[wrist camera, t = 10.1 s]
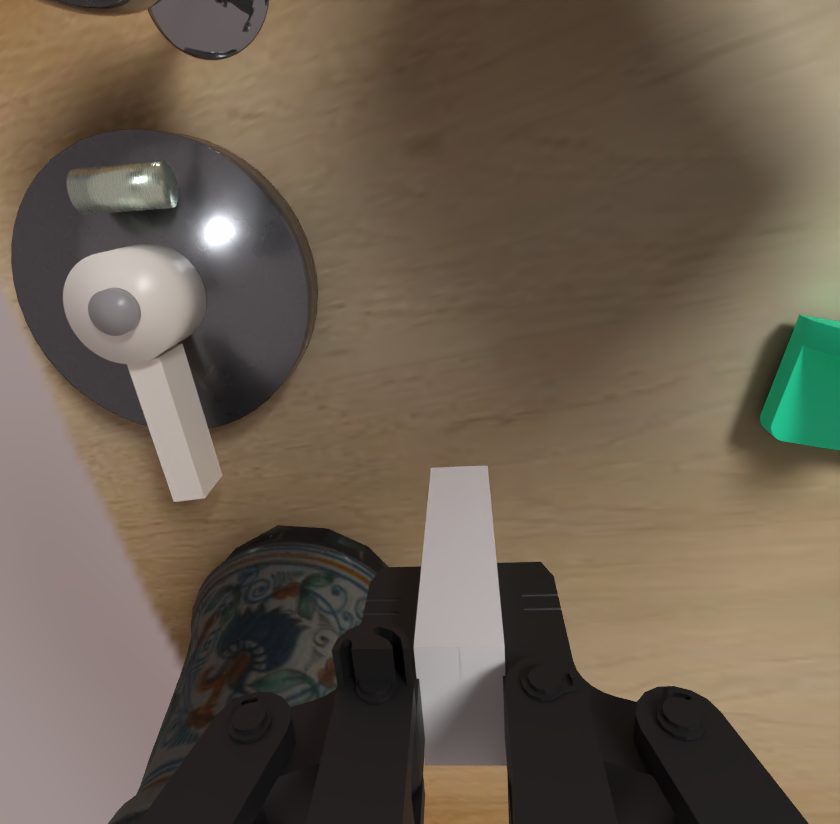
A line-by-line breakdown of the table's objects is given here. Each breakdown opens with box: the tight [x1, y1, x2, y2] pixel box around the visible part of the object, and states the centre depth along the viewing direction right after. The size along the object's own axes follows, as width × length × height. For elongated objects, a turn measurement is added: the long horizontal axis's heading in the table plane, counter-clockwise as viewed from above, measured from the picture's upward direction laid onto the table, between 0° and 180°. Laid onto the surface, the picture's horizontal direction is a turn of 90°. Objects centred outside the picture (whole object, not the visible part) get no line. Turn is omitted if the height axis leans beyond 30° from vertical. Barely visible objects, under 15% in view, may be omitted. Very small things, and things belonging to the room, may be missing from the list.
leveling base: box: [11, 129, 318, 429], centre depth 37 cm, size 18×18×5 cm
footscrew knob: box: [63, 243, 222, 502], centre depth 36 cm, size 15×6×5 cm, turn 9°
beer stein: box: [108, 525, 388, 824], centre depth 38 cm, size 16×19×25 cm
